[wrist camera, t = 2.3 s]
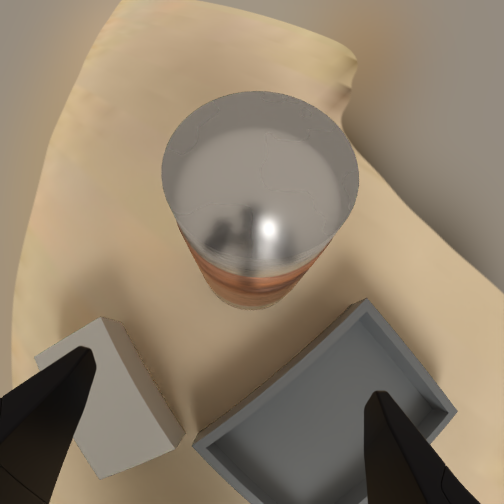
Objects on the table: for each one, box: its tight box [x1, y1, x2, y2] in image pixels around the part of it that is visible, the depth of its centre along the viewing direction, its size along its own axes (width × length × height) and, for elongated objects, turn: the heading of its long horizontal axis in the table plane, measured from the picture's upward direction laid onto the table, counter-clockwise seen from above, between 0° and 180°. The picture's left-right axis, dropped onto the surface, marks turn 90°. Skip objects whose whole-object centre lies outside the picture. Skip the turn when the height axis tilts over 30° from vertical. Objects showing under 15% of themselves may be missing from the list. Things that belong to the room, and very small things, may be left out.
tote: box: [192, 298, 458, 504], centre depth 18 cm, size 14×11×3 cm
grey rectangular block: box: [34, 317, 186, 480], centre depth 18 cm, size 6×9×4 cm, turn 31°
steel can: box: [162, 91, 359, 310], centre depth 17 cm, size 7×7×13 cm
